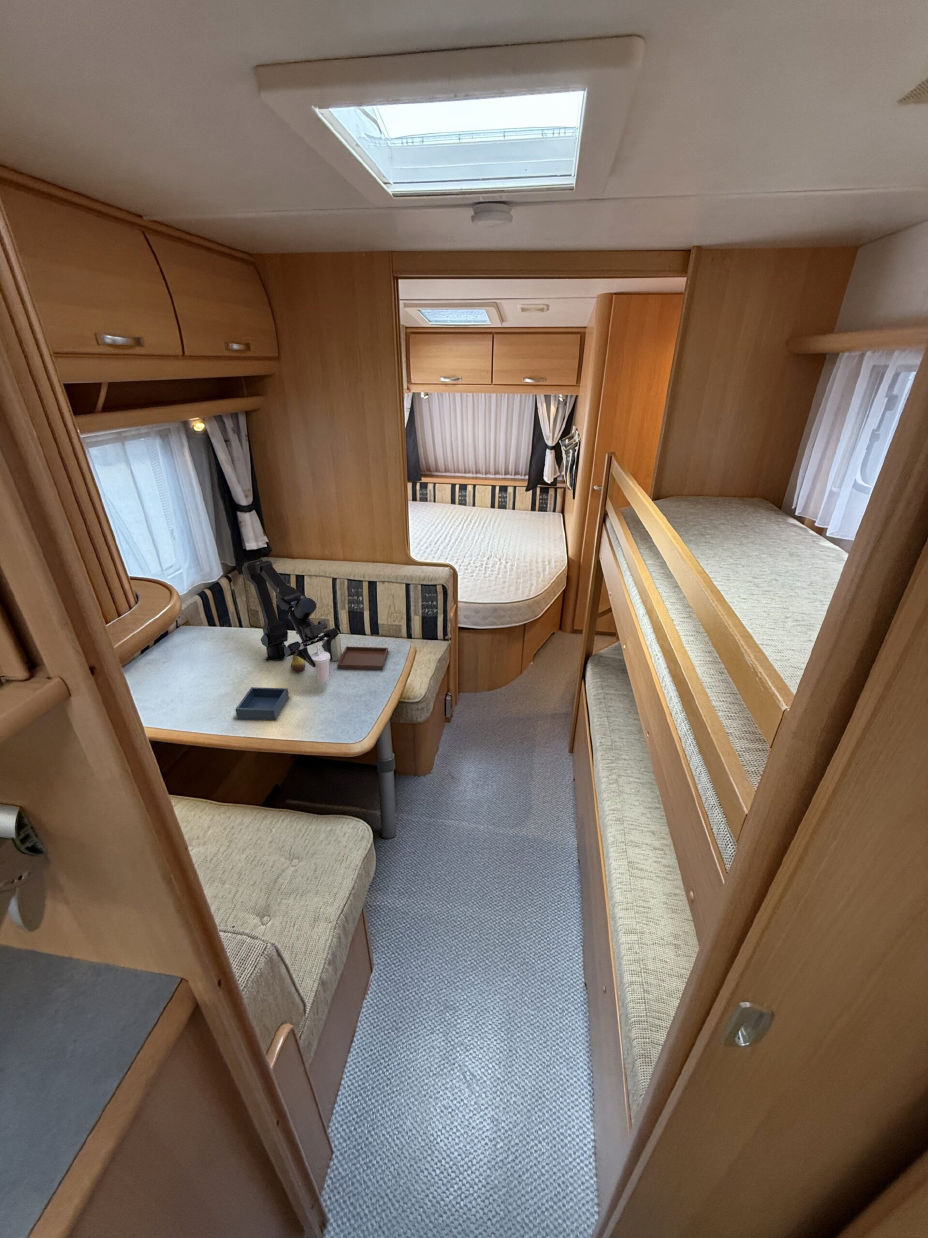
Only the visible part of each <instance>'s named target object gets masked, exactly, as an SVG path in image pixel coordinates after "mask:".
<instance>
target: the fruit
mask: <svg viewBox="0 0 928 1238" xmlns="http://www.w3.org/2000/svg"><path fill="white" fill-rule="evenodd" d="M291 657H292V658H291V661H290V668H291V671H292V672H295V673H300V672H303V671H305V669H306V661H305V660H303V659H302V658H300V657H298V656H296V657H295V655H292V656H291Z"/></svg>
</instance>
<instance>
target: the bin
mask: <svg viewBox="0 0 928 1238" xmlns="http://www.w3.org/2000/svg"><path fill="white" fill-rule="evenodd" d="M289 699H290V695H289V690H288V688H284V687H257V686H256V687H255V686H254V687H253V686H252V687H250V688H249V690H248V691H247V692H246V694H245V695H244V697H243V698H242V700H240V702H239V704H238V705H237V706H236V707H235V709H234V710H235V714H236V718H237V720H249V721H250V720H251V721H252V720H253V721H277V719H278V718H279V716H280V715H281V712H282V711H283V709H284V707H285V706H286V703H287V702H288V700H289Z"/></svg>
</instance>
